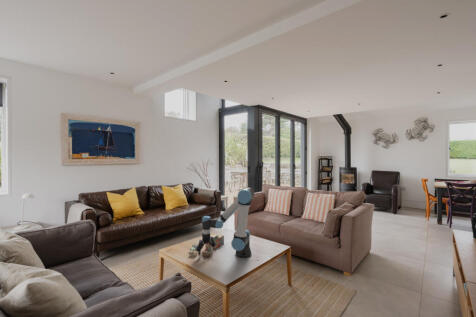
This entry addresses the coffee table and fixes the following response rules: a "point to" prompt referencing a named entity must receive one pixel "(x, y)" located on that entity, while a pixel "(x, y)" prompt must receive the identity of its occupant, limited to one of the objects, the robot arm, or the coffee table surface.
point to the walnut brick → (206, 254)
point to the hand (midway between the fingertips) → (206, 255)
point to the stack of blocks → (215, 241)
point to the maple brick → (193, 253)
